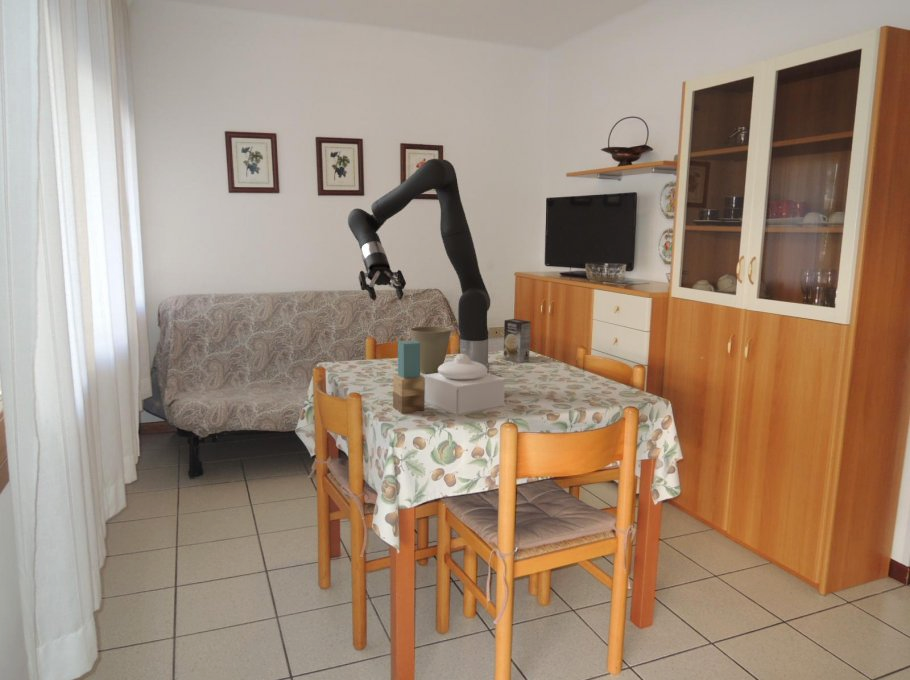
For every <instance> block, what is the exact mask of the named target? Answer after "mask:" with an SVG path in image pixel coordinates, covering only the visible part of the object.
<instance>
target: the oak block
mask: <svg viewBox="0 0 910 680" xmlns="http://www.w3.org/2000/svg"><path fill="white" fill-rule="evenodd" d="M392 381H393V383H392V384H393V390H392V392H393V391H394V392H395V393H397V394H398V395H400V396H401V397H405V396H415V395H424V389H425V378H424V375H423V376H422V375H421V374H420V377H416V378H405V379H404V378H402V377H401V376H399V375H398V373H396V374H393V378H392Z"/></svg>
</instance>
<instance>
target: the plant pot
mask: <svg viewBox="0 0 910 680" xmlns="http://www.w3.org/2000/svg"><path fill="white" fill-rule="evenodd" d="M451 330H452V329H451V328H450V327H447V326H446V327H445V326H438V325H437V326H436V325H434V326H433V325H431V326H429V325H427V326H426V325H425V326H424V325H423V326H422V325H421V326H415V327H410V328H409V333H410V341H411V340H415V341H417V342H419V343H420V374H421V373H422V374H424V375H427V374H434V373H439V372H438V367H439V366H440V365H442V364H443V363H445V360H446V357H447V353H448V348H449V344H450V340H451V332H452V331H451Z"/></svg>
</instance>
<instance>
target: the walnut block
mask: <svg viewBox="0 0 910 680" xmlns="http://www.w3.org/2000/svg"><path fill="white" fill-rule="evenodd" d="M392 408H393V409H395V410H396V411H397V410H398V412H399V413H400V414H409V412H411V413H418V412H417V411H419V412H424V411H425V403H424V395H415V396H405V397H401V396H400V395H398V394H397V393H395V392H394V391H393V390H392Z"/></svg>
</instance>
